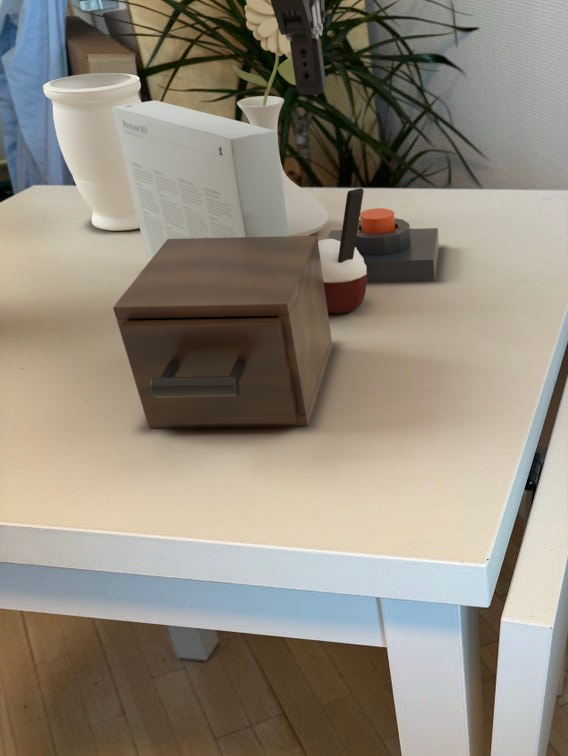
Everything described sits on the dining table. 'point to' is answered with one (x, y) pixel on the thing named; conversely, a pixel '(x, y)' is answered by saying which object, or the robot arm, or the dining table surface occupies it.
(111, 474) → the dining table surface
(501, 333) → the dining table surface
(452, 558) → the dining table surface
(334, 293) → the cocoa
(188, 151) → the skincare box
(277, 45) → the flower in vase
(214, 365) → the drawer
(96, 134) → the jar
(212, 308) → the cabinet
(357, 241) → the console
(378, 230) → the button
